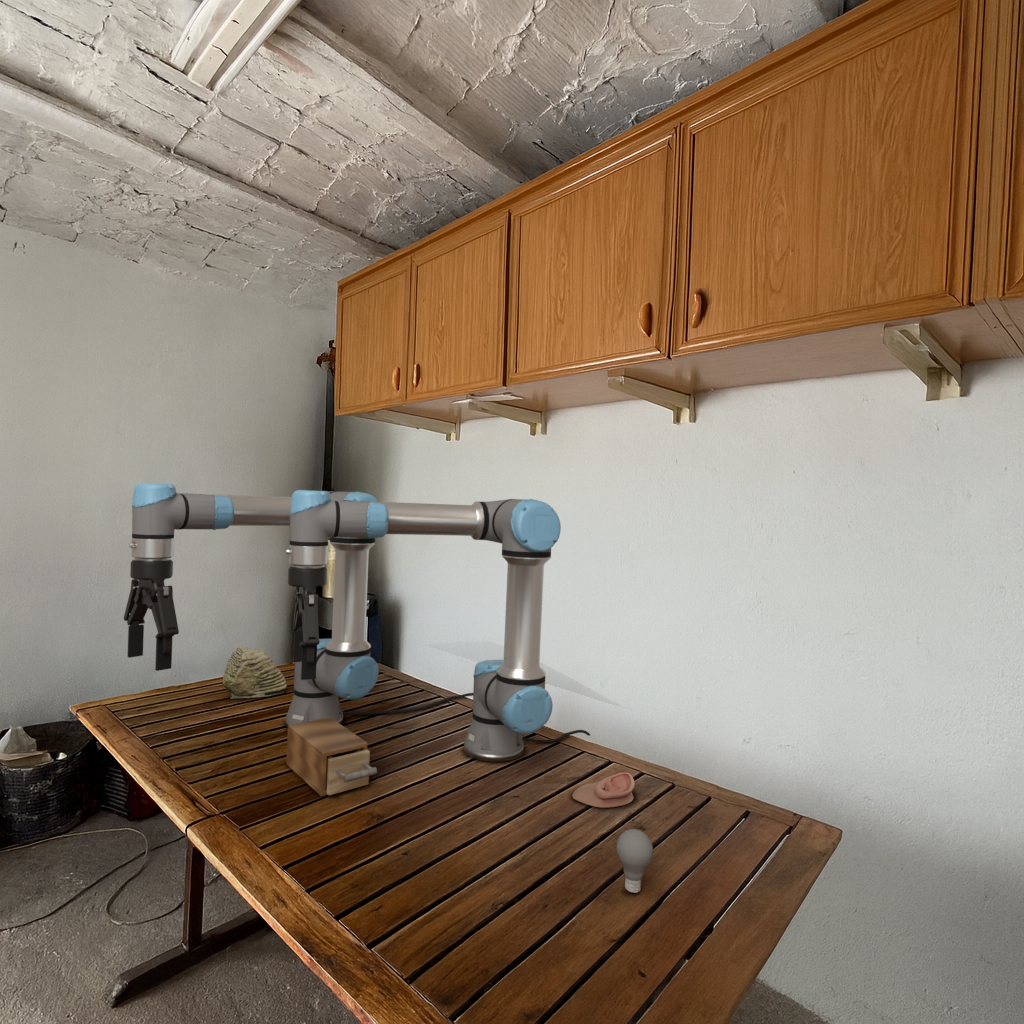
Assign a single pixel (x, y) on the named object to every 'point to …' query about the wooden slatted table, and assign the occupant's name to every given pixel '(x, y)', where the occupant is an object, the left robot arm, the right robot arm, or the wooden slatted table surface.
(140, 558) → the left robot arm
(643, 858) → the light bulb
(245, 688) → the fossil
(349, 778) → the drawer
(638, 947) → the wooden slatted table surface
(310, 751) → the cabinet
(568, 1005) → the wooden slatted table surface
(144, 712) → the wooden slatted table surface
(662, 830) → the wooden slatted table surface
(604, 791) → the anatomical model
